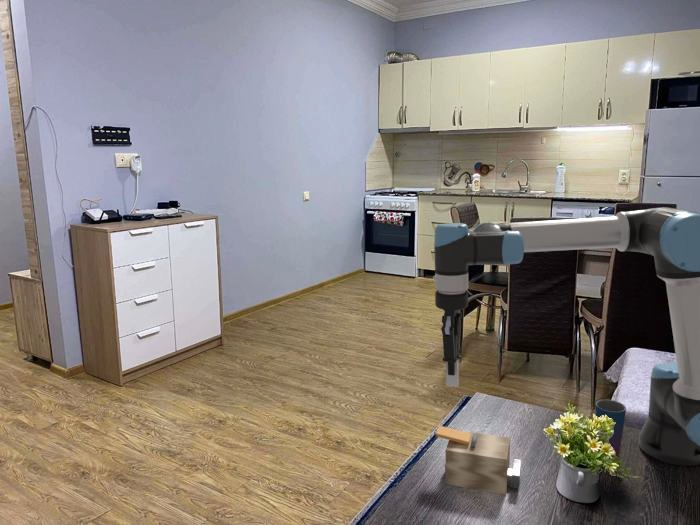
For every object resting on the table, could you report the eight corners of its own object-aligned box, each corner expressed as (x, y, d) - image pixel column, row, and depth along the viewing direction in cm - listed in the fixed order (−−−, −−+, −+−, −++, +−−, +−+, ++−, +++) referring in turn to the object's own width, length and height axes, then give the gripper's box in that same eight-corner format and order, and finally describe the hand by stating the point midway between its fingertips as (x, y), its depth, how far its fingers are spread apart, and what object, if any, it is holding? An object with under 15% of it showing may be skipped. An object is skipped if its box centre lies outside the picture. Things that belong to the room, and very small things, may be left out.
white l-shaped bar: (520, 476, 129) (521, 459, 128) (518, 493, 123) (519, 476, 122) (448, 464, 135) (448, 448, 134) (443, 480, 129) (443, 463, 128)
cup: (598, 450, 139) (601, 397, 136) (626, 459, 134) (630, 405, 131) (588, 460, 134) (591, 406, 131) (616, 471, 129) (620, 414, 126)
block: (509, 470, 131) (510, 437, 129) (506, 495, 122) (506, 459, 120) (452, 461, 136) (452, 429, 134) (445, 484, 127) (445, 449, 125)
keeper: (477, 438, 129) (477, 434, 129) (474, 448, 125) (475, 443, 125) (438, 428, 132) (439, 424, 132) (435, 437, 128) (435, 433, 128)
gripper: (440, 283, 129) (442, 373, 134) (429, 296, 117) (431, 395, 122) (471, 284, 127) (472, 376, 131) (463, 298, 115) (463, 399, 119)
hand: (452, 385), depth 127 cm, fingers closed
